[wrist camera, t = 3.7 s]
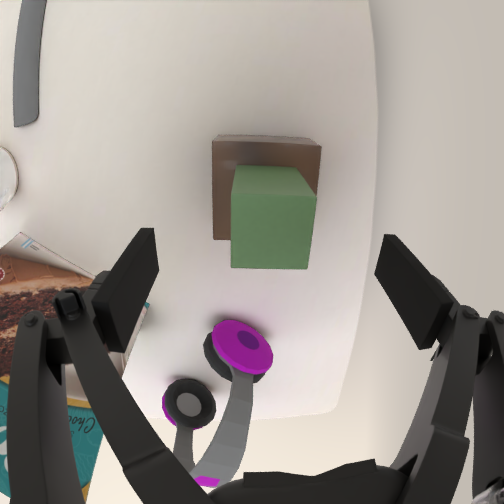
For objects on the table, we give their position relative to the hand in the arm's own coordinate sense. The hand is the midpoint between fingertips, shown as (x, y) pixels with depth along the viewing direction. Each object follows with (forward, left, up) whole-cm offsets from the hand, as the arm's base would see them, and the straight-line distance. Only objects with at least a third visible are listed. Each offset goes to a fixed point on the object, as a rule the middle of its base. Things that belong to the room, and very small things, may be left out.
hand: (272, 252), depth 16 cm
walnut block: (0, 0, -15) cm, 15 cm away
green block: (0, 0, -10) cm, 10 cm away
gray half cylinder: (+28, -18, -15) cm, 37 cm away
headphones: (+6, +27, -15) cm, 31 cm away
